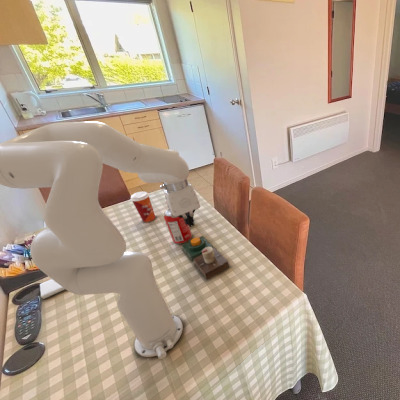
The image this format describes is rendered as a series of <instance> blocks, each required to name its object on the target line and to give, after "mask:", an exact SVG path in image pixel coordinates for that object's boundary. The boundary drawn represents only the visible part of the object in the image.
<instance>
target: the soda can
mask: <svg viewBox="0 0 400 400" xmlns="http://www.w3.org/2000/svg"><path fill="white" fill-rule="evenodd" d="M163 219H164V222H165V225H166V227H167V230H168V232H169V235H170V237H171V241H172V242H173V243H174V244H177V245H178V244H180V245H181V244H186V243H188V242H189V241H191V240H192V237H193V234H192V230H191V227H189V225H186V224H185V221H184V218H181V217H176V218H172V217H171V212H170V211H169V208H168V209H166V210H165V211H164V216H163Z"/></svg>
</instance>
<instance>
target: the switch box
mask: <svg viewBox="0 0 400 400" xmlns="http://www.w3.org/2000/svg"><path fill="white" fill-rule="evenodd" d="M199 238H200V241H201V243H200V244H199V245H197V246H192V244H191V240H189V241H188V242H185V243H183V244H182V245H181V247H182V250H183V251H184V252H185V254H186V255H187V256H188V257H189V259H190V260H191V262H194V260H193V259H194V258H196V257H198V256H200V255H202V250H203V249H204V248H206V247H212V248H213V249H214V247H213V245H212V244H211V243H210V242H209V241H208V240H207V239H206V238H205V237H204V236H203V235H202V236H200V237H199Z"/></svg>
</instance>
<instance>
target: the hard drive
mask: <svg viewBox="0 0 400 400" xmlns="http://www.w3.org/2000/svg"><path fill="white" fill-rule="evenodd" d="M65 290H66V289H65V288H63V287H62V286H61V285H59V284H58V283H57V282H55V281H54V280H53V279H51V278H50V279H48V280H46V281H44V282H42V283H39V291H40V297H41V299H42V300H44V299H48V298H50V297H52V296H53V295H56V294H59V293H61V292H63V291H65Z"/></svg>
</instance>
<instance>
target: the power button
mask: <svg viewBox="0 0 400 400" xmlns="http://www.w3.org/2000/svg"><path fill="white" fill-rule="evenodd" d="M190 241H191V244H192V246H197V245H199V244H200V243H201V241H200V237H193V238H191V239H190Z"/></svg>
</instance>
